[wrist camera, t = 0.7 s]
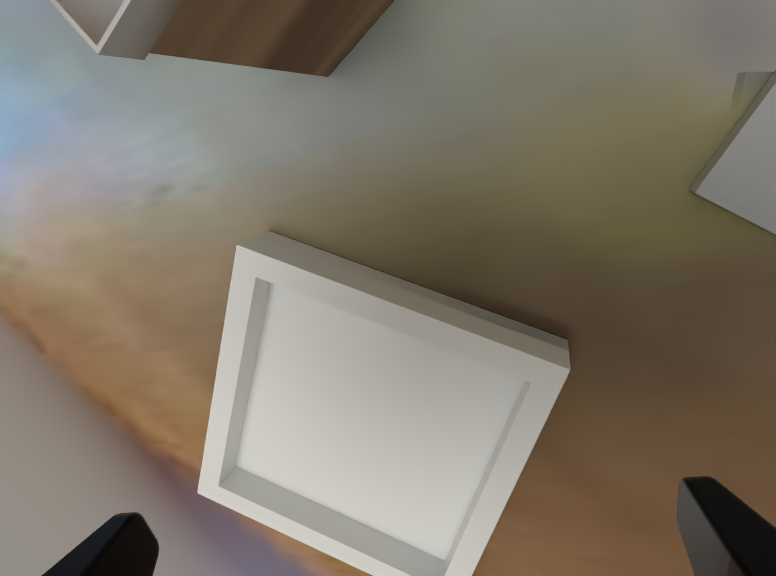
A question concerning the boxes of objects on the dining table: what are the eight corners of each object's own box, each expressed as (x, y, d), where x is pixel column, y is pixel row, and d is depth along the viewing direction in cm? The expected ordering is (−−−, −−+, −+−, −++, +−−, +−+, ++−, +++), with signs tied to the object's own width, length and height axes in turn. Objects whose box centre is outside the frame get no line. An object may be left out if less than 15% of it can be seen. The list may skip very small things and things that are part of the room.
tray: (567, 339, 20) (570, 369, 18) (461, 567, 25) (453, 613, 23) (268, 230, 22) (236, 244, 20) (226, 460, 27) (197, 493, 25)
